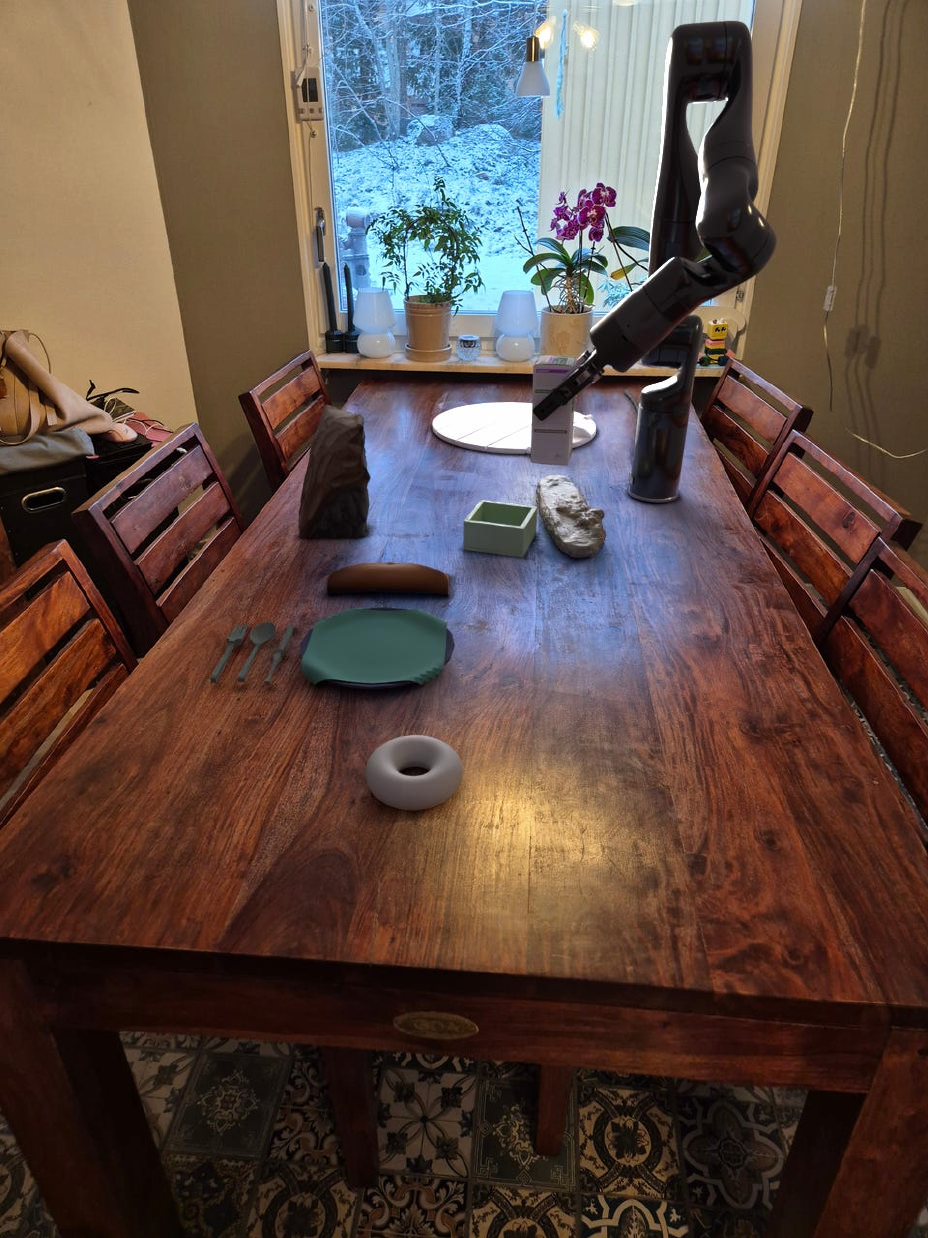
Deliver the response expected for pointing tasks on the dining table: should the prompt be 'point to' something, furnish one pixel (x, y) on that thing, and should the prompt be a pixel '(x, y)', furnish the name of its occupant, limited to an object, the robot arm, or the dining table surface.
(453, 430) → the lazy susan
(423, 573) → the sunglasses case
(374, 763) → the donut
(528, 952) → the dining table surface
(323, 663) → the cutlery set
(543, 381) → the syrup box
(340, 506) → the dark brown rock
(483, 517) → the socket
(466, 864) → the dining table surface
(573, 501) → the elongated rock
